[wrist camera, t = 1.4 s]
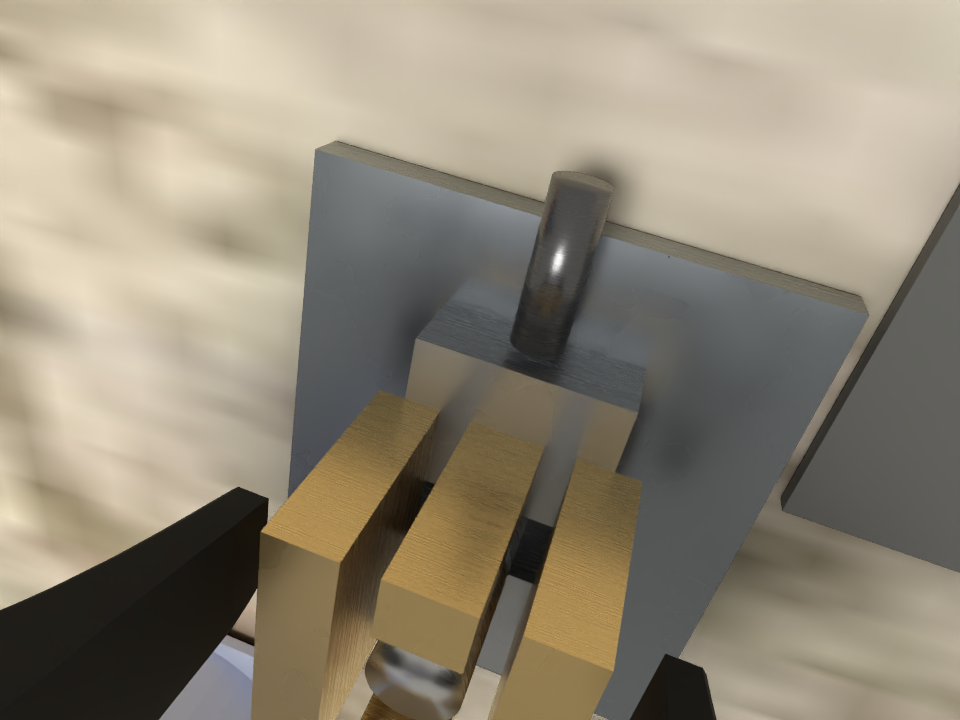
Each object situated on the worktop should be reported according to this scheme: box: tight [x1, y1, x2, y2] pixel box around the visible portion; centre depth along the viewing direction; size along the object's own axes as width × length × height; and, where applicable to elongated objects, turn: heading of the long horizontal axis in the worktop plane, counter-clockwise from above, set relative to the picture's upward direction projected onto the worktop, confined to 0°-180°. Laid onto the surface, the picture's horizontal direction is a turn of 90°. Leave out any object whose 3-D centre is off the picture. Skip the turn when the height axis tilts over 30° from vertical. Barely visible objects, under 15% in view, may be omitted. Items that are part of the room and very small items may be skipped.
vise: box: [288, 141, 869, 720], centre depth 13 cm, size 13×10×6 cm
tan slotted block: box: [251, 390, 643, 720], centre depth 12 cm, size 5×5×4 cm
